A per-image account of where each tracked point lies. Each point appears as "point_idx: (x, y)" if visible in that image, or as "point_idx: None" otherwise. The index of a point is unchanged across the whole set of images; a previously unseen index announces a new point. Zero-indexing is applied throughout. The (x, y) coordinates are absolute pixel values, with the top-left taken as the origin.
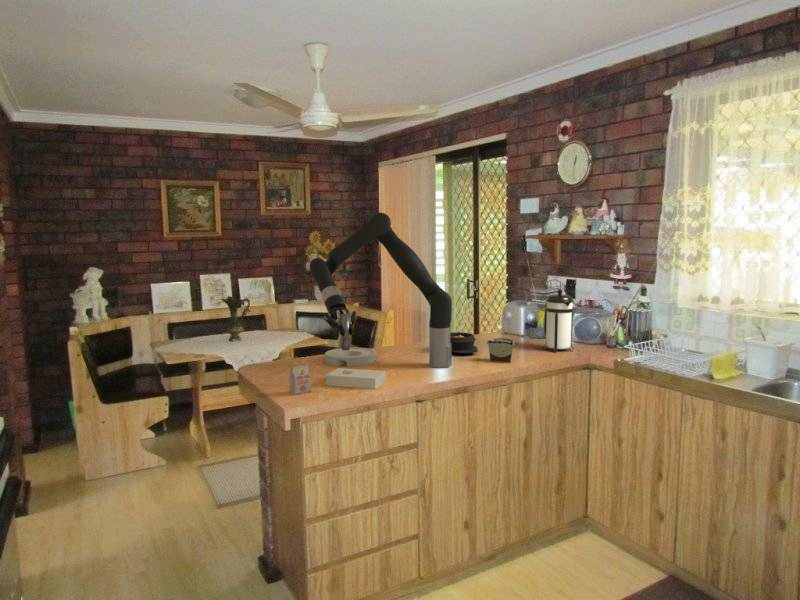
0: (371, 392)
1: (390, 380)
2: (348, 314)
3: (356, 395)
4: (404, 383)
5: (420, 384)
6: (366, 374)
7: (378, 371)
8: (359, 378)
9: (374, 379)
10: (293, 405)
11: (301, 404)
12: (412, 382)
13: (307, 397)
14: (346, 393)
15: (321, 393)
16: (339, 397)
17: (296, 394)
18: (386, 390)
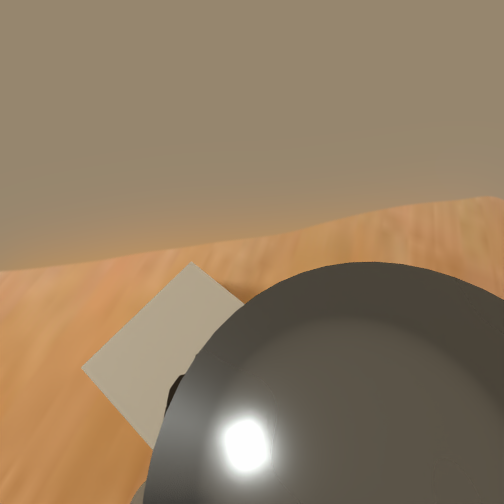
0: (227, 248)
1: (78, 375)
2: (252, 302)
3: (285, 236)
4: (63, 305)
5: (27, 270)
6: (193, 340)
7: (113, 374)
8: (243, 304)
9: (193, 264)
10: (492, 216)
11: (467, 216)
12: (29, 306)
13: (452, 276)
14: (311, 268)
15: None
16: (343, 237)
17: None
18: (172, 249)
